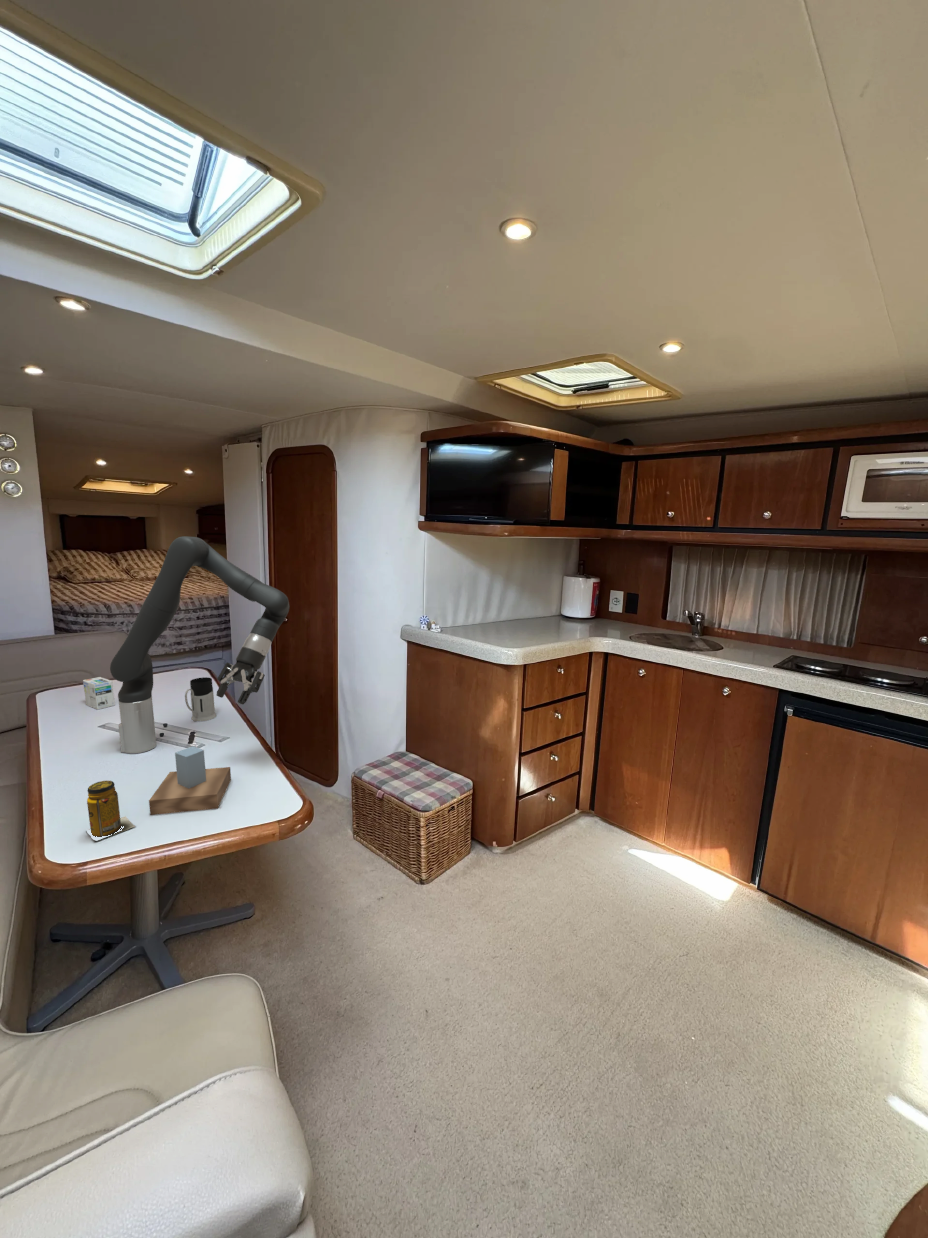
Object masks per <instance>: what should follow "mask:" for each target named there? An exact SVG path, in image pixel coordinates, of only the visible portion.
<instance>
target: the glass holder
mask: <svg viewBox="0 0 928 1238" xmlns="http://www.w3.org/2000/svg"><path fill="white" fill-rule="evenodd" d="M189 686H190V688H188V689H186V691H185V693H184V701H185V704H186V705H185V706H186V707H187V709H188V710H189V711H191V714H192V715H191V721H192V720H193V722H207V721H211V720H214V719H215V718H216V717H217V714H216V712H215V711H216V710H215V709H216V708H215V707H216V706H215V697H214V696H215V695H214V687H213V679H212V677H207V676H206V677H204V676H203V677H197V678H192V679H190V681H189ZM189 692H190V704H191V706H190V705H189V703H188V693H189Z"/></svg>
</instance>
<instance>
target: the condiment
mask: <svg viewBox="0 0 928 1238" xmlns="http://www.w3.org/2000/svg"><path fill="white" fill-rule="evenodd" d="M87 796H88V797H87V799H86V805H87V811H88V818H89V820H88V821H89V826H90V829H91V833H92V835H93V836H95V837H96V836H97V837H102V836H108V835H111V834H112V835H113V834H114V833H115V832H117V831H118V830H119V829H120V828H121V826H122V827H123V826H124V828H123V829H122V828H121V829H122V831H120V832H117V833H115V834H114V835H113V836H115V835H118V834H119V833H122V832H126V831H128V830H130V829H132V828H135V827H136V825H135V824H133V822H132V821H130V819H129V818H128V817H127V816H126V815H125V816H123V817H121V813H120V804H119V794H118V792H117V790H116V787H115V782H114V781H112V780H100V781H97V782H95V783H92V784H91V785H90V786H89V785H88V788H87ZM90 829H89V830H90ZM121 829H120V830H121Z"/></svg>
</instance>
